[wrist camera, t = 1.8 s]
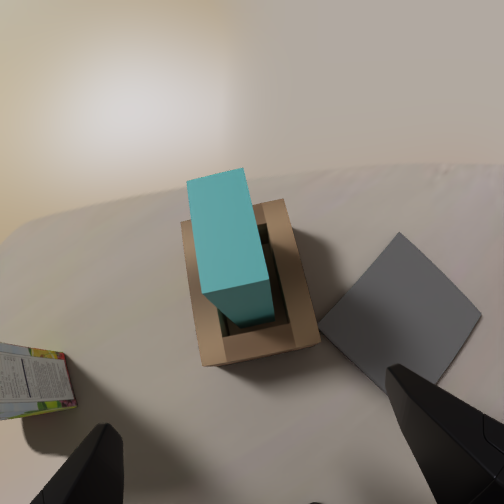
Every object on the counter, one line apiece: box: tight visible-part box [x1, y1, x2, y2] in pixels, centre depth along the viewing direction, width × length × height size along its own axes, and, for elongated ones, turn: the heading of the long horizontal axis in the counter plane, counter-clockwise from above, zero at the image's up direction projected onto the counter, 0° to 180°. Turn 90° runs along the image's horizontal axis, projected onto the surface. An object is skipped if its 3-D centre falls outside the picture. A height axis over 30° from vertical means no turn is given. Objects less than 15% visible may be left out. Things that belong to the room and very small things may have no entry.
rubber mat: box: [317, 232, 481, 395], centre depth 21 cm, size 10×10×1 cm
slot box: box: [181, 199, 321, 366], centre depth 21 cm, size 10×7×4 cm
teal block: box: [187, 168, 275, 329], centre depth 17 cm, size 5×2×11 cm, turn 11°
